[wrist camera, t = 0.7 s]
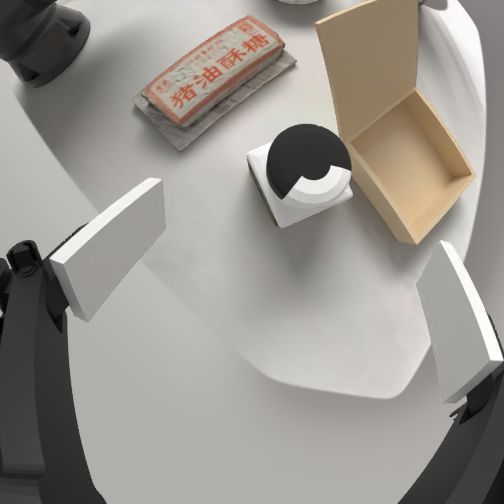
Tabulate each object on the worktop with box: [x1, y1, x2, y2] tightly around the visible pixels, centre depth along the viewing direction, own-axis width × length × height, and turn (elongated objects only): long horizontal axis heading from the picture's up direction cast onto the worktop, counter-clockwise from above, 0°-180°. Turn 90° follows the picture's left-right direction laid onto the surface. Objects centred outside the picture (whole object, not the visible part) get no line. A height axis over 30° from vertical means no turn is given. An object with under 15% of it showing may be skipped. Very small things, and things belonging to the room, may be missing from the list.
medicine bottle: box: [246, 124, 353, 228], centre depth 23 cm, size 7×7×12 cm
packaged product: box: [132, 14, 297, 151], centre depth 26 cm, size 18×5×10 cm
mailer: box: [314, 0, 476, 245], centre depth 20 cm, size 20×13×16 cm, turn 41°
